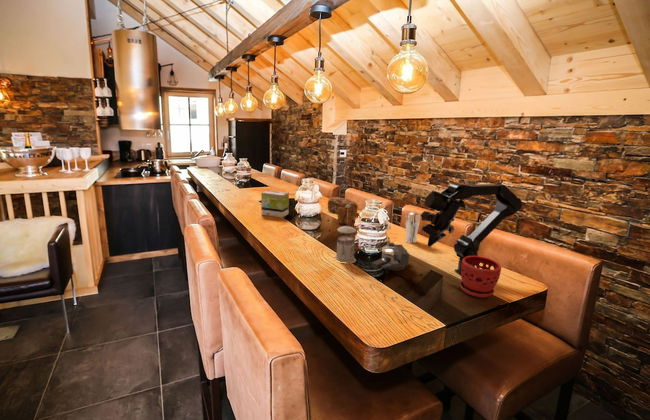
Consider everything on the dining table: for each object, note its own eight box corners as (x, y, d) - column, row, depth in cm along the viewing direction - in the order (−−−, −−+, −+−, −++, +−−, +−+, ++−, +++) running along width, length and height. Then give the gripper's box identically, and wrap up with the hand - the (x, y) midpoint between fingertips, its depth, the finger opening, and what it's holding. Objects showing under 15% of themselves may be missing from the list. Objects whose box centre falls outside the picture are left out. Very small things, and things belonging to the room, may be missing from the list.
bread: (326, 211, 244) (327, 197, 241) (337, 209, 251) (337, 195, 249) (347, 216, 231) (348, 201, 229) (358, 214, 239) (358, 199, 237)
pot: (392, 258, 161) (393, 245, 160) (412, 264, 155) (413, 251, 154) (363, 272, 145) (364, 258, 143) (384, 279, 138) (385, 265, 137)
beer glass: (417, 244, 182) (420, 215, 179) (404, 242, 183) (406, 214, 180) (417, 240, 189) (420, 212, 185) (403, 238, 190) (406, 211, 187)
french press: (358, 257, 161) (361, 203, 155) (353, 266, 150) (356, 209, 144) (336, 254, 163) (339, 201, 158) (330, 263, 153) (332, 206, 147)
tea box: (260, 215, 226) (260, 192, 223) (267, 211, 236) (267, 189, 232) (282, 217, 222) (283, 194, 219) (288, 214, 232) (289, 191, 228)
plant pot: (451, 291, 131) (455, 260, 128) (467, 281, 140) (471, 252, 137) (487, 304, 122) (493, 272, 119) (502, 293, 131) (507, 262, 128)
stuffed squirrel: (358, 226, 209) (359, 204, 206) (334, 224, 212) (335, 203, 208) (359, 222, 219) (360, 201, 216) (336, 220, 221) (337, 199, 218)
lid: (378, 245, 158) (379, 234, 157) (401, 246, 159) (402, 234, 157) (390, 266, 136) (391, 252, 134) (417, 266, 136) (418, 253, 135)
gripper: (439, 202, 151) (422, 233, 156) (420, 204, 136) (402, 238, 142) (462, 216, 145) (444, 247, 151) (445, 219, 131) (425, 254, 136)
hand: (428, 246), depth 145 cm, fingers closed
